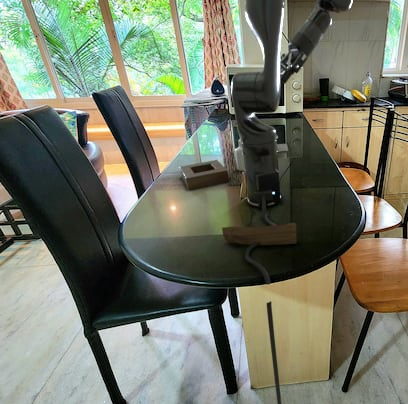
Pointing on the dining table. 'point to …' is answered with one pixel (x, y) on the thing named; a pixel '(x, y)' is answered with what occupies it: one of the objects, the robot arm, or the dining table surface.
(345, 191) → the dining table surface
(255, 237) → the wood plank
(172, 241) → the dining table surface
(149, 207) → the dining table surface
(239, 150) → the eye dropper bottle
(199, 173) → the stand
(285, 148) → the platform
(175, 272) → the dining table surface
